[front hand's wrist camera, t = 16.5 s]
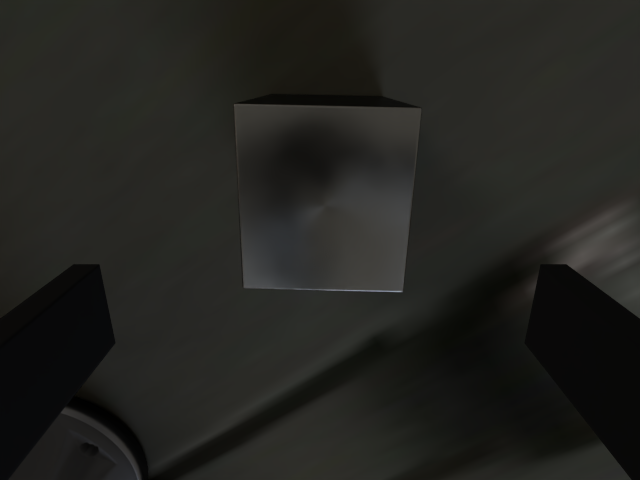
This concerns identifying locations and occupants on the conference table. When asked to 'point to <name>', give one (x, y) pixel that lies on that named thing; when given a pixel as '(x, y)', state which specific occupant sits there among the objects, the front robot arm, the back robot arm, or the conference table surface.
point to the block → (325, 191)
